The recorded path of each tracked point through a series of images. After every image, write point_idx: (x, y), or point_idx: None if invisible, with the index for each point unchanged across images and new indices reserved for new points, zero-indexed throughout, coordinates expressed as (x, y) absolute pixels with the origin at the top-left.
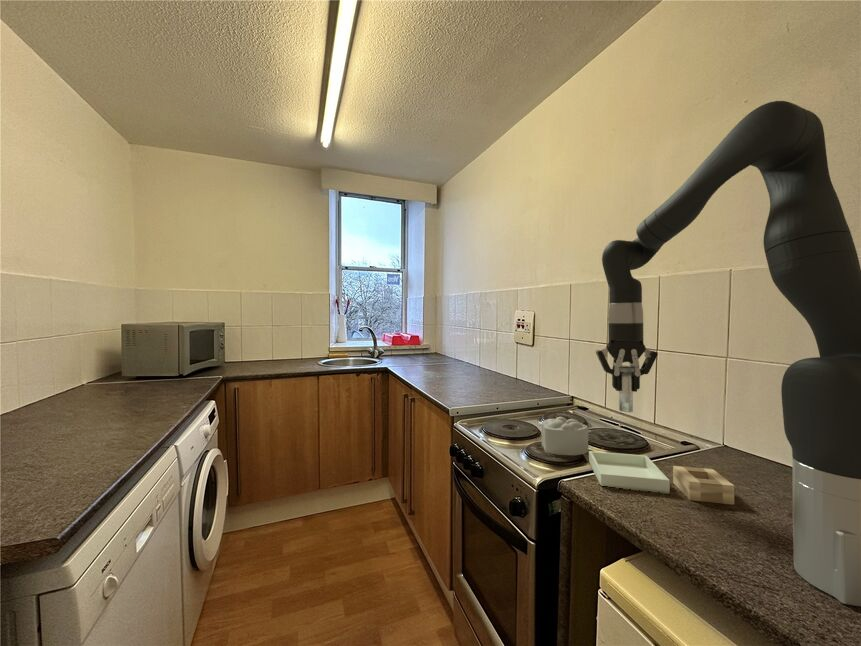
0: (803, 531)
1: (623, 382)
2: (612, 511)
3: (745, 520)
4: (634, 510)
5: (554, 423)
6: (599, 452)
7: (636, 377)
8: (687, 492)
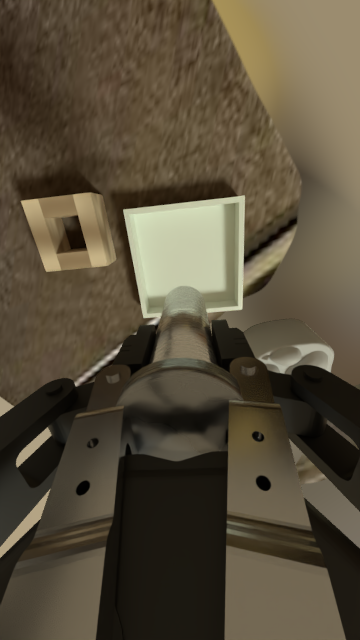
0: None
1: (200, 338)
2: (241, 84)
3: (33, 144)
4: (199, 108)
5: (316, 364)
6: (223, 308)
7: (127, 363)
8: (101, 203)
